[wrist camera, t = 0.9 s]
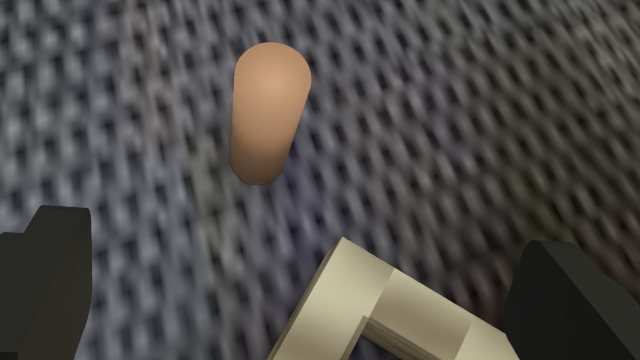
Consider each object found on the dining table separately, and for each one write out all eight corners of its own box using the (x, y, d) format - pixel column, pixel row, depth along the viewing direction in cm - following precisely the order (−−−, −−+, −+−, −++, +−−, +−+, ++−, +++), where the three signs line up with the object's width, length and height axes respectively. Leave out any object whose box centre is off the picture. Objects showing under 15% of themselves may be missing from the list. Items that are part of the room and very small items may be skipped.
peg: (248, 123, 41) (260, 29, 29) (295, 150, 40) (324, 67, 29) (219, 166, 39) (219, 86, 28) (267, 195, 39) (286, 126, 28)
